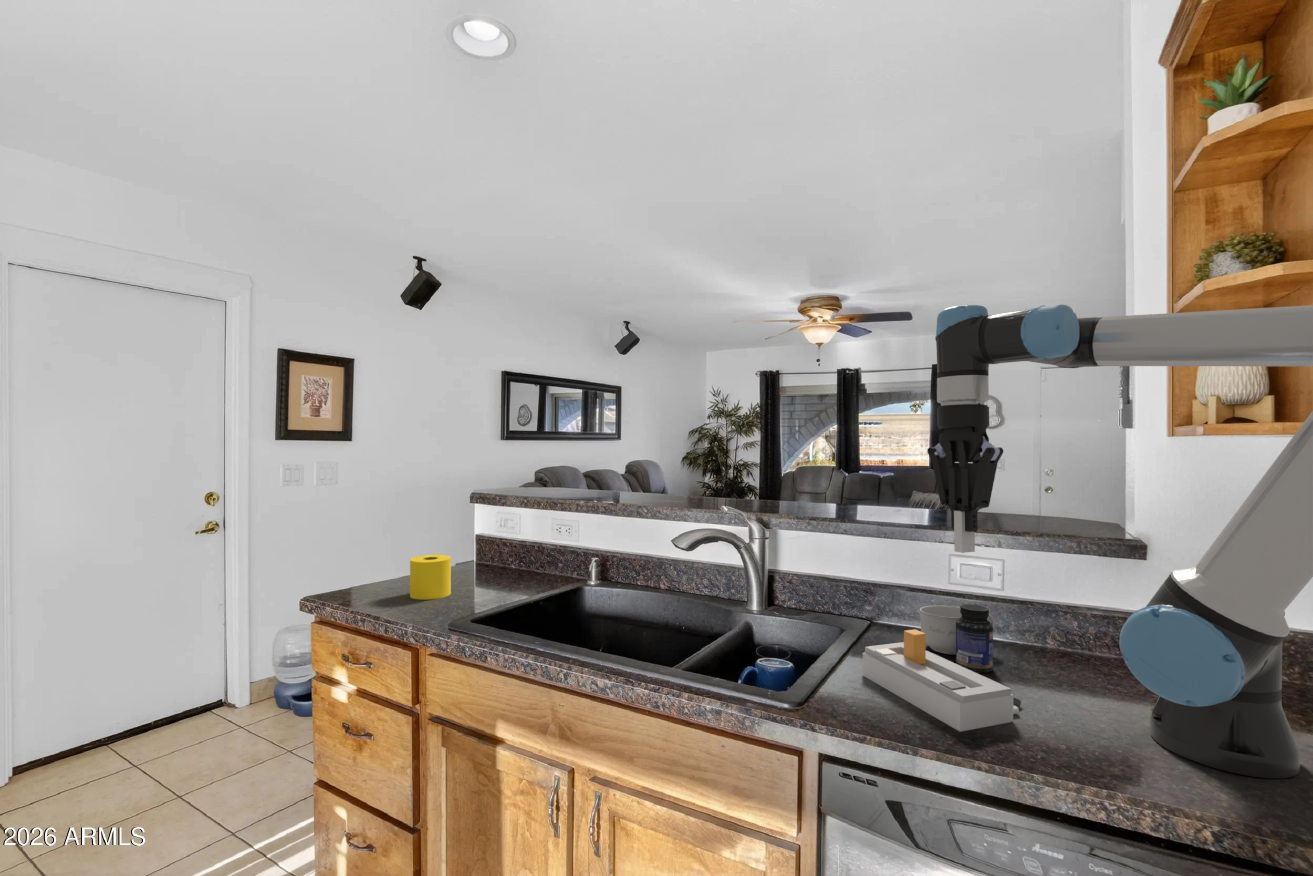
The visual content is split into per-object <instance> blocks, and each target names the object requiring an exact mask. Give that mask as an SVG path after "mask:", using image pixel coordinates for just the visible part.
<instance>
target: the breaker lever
mask: <svg viewBox="0 0 1313 876" xmlns="http://www.w3.org/2000/svg"><path fill="white" fill-rule="evenodd" d="M903 642H904V657H905V658H907V659H909V660H911V661H913V662H915V663H917V664H925V660H926V651H927V650H926V649H927V647H926V646H927V644H926V634H925V633H923V632H921V630H918V629H907V630H904V631H903Z"/></svg>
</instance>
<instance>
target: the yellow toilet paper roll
mask: <svg viewBox="0 0 1313 876" xmlns="http://www.w3.org/2000/svg"><path fill="white" fill-rule="evenodd" d="M451 581H452V557H451V556H450V555H448V554H425V555H418V556H415V557H411V558H410V559H409V597H410V598H411V599H414V600H423V601H424V600H436V599H442V598H446V597H448V596H450V595H451V594H452V590H451V589H452V587H451V586H452V582H451Z"/></svg>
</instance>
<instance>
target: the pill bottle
mask: <svg viewBox="0 0 1313 876" xmlns="http://www.w3.org/2000/svg"><path fill="white" fill-rule="evenodd" d="M960 613H961V614H962V617H961V618H959V619H957V621H956V655H955V664H957V665H960V666H962V667H964V668H966V669H969V670H971V671H973V672H975V673H977V674H979V673H980V674H982V673H983V674H986V673H987V674H988V673H990V672H992V671H993V669H994V628H993V625H992V624H991V623H990V622H989V621H988V619H987V617H988V616H989V614H990V610H989V608H988V607H986V606H984V605H978V604H969V603H965V604H961V605H960Z"/></svg>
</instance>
